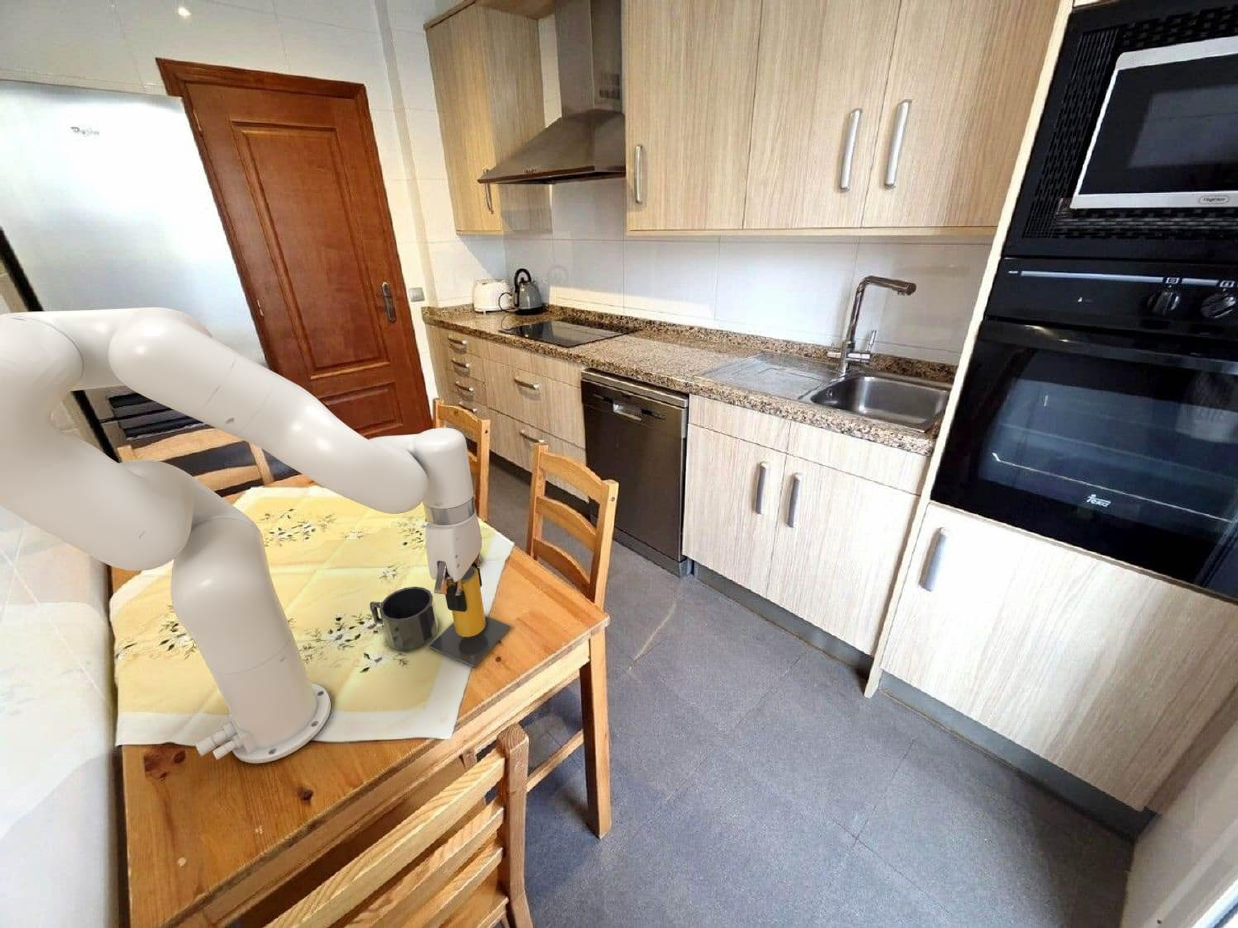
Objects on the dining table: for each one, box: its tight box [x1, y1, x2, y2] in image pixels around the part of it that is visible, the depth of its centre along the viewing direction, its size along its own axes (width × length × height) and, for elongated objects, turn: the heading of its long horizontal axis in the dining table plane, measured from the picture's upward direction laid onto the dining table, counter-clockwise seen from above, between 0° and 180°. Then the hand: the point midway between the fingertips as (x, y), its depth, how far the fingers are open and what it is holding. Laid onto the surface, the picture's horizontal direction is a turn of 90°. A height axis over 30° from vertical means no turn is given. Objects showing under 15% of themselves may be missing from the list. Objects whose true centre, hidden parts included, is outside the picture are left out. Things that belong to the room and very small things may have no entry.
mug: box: [369, 586, 439, 652], centre depth 89 cm, size 12×9×7 cm
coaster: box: [428, 616, 511, 669], centre depth 90 cm, size 10×10×1 cm
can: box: [448, 566, 486, 637], centre depth 86 cm, size 5×5×12 cm
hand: (465, 596), depth 86 cm, fingers closed on can, 5 cm apart
